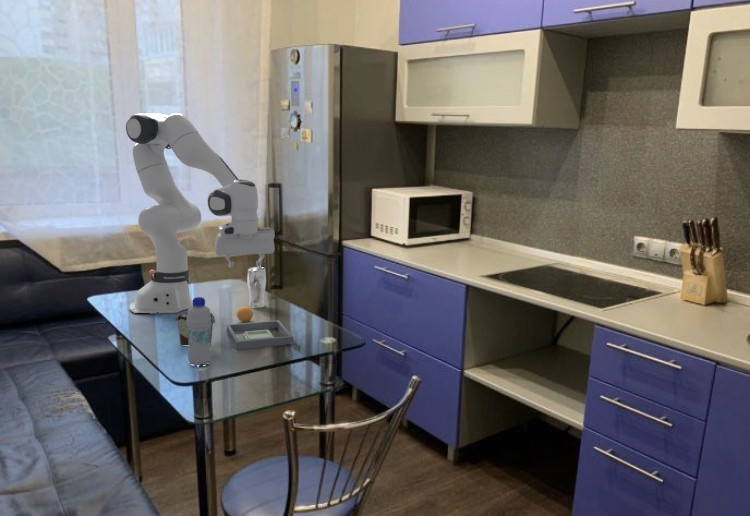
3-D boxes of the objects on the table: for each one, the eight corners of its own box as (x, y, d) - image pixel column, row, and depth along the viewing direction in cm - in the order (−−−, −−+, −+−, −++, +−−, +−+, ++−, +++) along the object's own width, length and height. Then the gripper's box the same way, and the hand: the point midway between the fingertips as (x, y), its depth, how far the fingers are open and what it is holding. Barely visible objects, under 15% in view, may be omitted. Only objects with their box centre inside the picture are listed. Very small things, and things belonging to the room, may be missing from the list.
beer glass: (261, 309, 224) (261, 271, 221) (244, 307, 225) (244, 269, 222) (268, 304, 230) (268, 267, 227) (251, 303, 232) (251, 266, 229)
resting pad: (247, 343, 187) (247, 340, 187) (242, 334, 195) (242, 331, 195) (275, 340, 190) (275, 337, 190) (269, 332, 198) (269, 328, 198)
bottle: (202, 358, 173) (201, 293, 169) (216, 364, 169) (215, 297, 165) (182, 364, 168) (181, 297, 164) (196, 371, 164) (195, 302, 160)
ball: (238, 324, 205) (238, 309, 204) (235, 320, 210) (235, 305, 209) (254, 323, 207) (254, 308, 206) (251, 318, 212) (251, 304, 211)
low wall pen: (236, 349, 181) (236, 342, 180) (226, 331, 197) (226, 324, 197) (293, 344, 188) (293, 336, 188) (279, 327, 204) (279, 320, 204)
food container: (221, 341, 188) (221, 311, 186) (214, 348, 182) (214, 317, 180) (184, 338, 189) (183, 309, 187) (176, 345, 183) (175, 314, 181)
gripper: (272, 225, 209) (272, 263, 211) (213, 227, 200) (214, 266, 203) (276, 228, 203) (276, 267, 206) (216, 229, 195) (217, 270, 198)
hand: (245, 266), depth 204 cm, fingers open, 8 cm apart
